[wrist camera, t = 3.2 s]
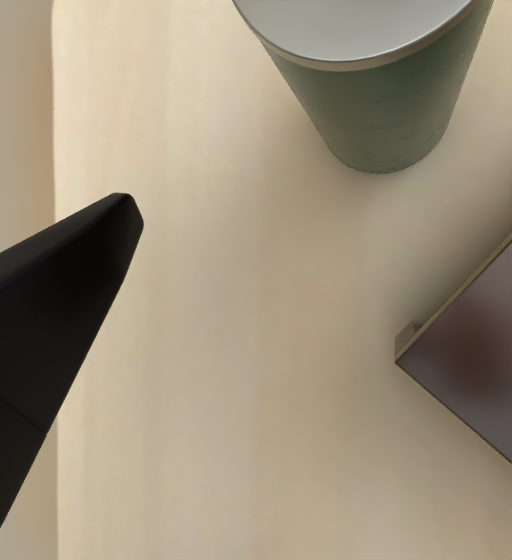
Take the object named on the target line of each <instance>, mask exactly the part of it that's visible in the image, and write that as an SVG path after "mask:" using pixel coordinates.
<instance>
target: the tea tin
mask: <svg viewBox="0 0 512 560" xmlns="http://www.w3.org/2000/svg"><path fill="white" fill-rule="evenodd" d="M232 1H233V3H234V5H235V7H236V8H237V10H238V12H239V13H240V15H241V16H242V18H243V20H244V21H245V23H246V24H247V26H248V27H249V29H250V30H251V31H252V32H253V33H254V34H255V35H256V37H257V38H258V39H259V40H260V41H261V43H262V45H263V46H264V48H265V49H266V51H267V52H268V54H269V55H270V57H271V59H272V60H273V62H274V63H275V65H276V66H277V68H278V69H279V71H280V72H281V74H282V76H283V77H284V79H285V80H286V82H287V83H288V85H289V86H290V88H291V90H292V91H293V93H294V94H295V96H296V97H297V99H298V100H299V102H300V103H301V105H302V107H303V108H304V110H305V111H306V113H307V114H308V116H309V117H310V119H311V121H312V122H313V124H314V125H315V127H316V128H317V130H318V131H319V133H320V134H321V136H322V138H323V139H324V141H325V142H326V144H327V145H328V147H329V148H330V150H331V151H332V153H333V154H334V155H335V156H336V157H337V158H338V159H339V160H340V161H341V162H343V163H344V164H346V165H347V166H349V167H351V168H353V169H355V170H358V171H362V172H366V173H374V174H382V173H390V172H395V171H399V170H401V169H404V168H407V167H409V166H411V165H413V164H415V163H416V162H418V161H419V160H421V159H422V158H423V157H424V156H426V155H427V154H428V153H429V152H430V151H431V150H432V149H433V148H434V147H435V146H436V144H437V143H438V142H439V140H440V139H441V137H442V135H443V134H444V132H445V130H446V127H447V125H448V123H449V120H450V117H451V115H452V112H453V109H454V106H455V104H456V101H457V98H458V96H459V93H460V90H461V88H462V85H463V82H464V79H465V77H466V74H467V71H468V69H469V66H470V63H471V61H472V58H473V55H474V52H475V50H476V47H477V44H478V42H479V39H480V36H481V34H482V31H483V28H484V25H485V23H486V20H487V17H488V15H489V12H490V9H491V7H492V4H493V1H494V0H232Z"/></svg>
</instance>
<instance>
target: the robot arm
mask: <svg viewBox="0 0 512 560" xmlns="http://www.w3.org/2000/svg"><path fill="white" fill-rule="evenodd" d="M143 226H144V222H143V218H142V216H141V214H140V211H139V209H138V207H137V205H136V202H135V200H134V198H133V197H132V196H131V195H130V194H127V193H112V194H110V195H108V196H107V197H105V198H103V199H101V200H99V201H97V202H95V203H93V204H91V205H90V206H88V207H86V208H84V209H82V210H80V211H78V212H76V213H74V214H73V215H71V216H69V217H67V218H65V219H63V220H61V221H59V222H57V223H56V224H54V225H52V226H50V227H48V228H46V229H44V230H42V231H40V232H39V233H37V234H35V235H33V236H31V237H29V238H27V239H25V240H23V241H22V242H20V243H18V244H16V245H14V246H12V247H10V248H8V249H7V250H5V251H3V252H1V253H0V527H1V526H2V524H3V522H4V520H5V518H6V516H7V514H8V512H9V510H10V508H11V506H12V504H13V502H14V500H15V498H16V496H17V494H18V492H19V490H20V488H21V486H22V484H23V482H24V480H25V478H26V476H27V474H28V472H29V470H30V468H31V465H32V464H33V462H34V460H35V458H36V456H37V454H38V452H39V450H40V448H41V446H42V444H43V442H44V440H45V438H46V436H47V433H48V432H49V430H50V427H51V425H52V423H53V422H54V420H55V418H56V416H57V414H58V412H59V410H60V408H61V406H62V404H63V402H64V400H65V398H66V396H67V394H68V392H69V390H70V388H71V386H72V384H73V382H74V380H75V378H76V376H77V374H78V372H79V370H80V368H81V366H82V364H83V362H84V360H85V358H86V356H87V353H88V351H89V349H90V347H91V345H92V343H93V341H94V339H95V337H96V335H97V333H98V331H99V329H100V327H101V325H102V323H103V321H104V319H105V317H106V315H107V313H108V311H109V309H110V307H111V305H112V303H113V301H114V299H115V297H116V295H117V293H118V291H119V289H120V287H121V285H122V283H123V281H124V279H125V276H126V274H127V271H128V269H129V266H130V263H131V260H132V258H133V255H134V252H135V250H136V247H137V244H138V242H139V239H140V236H141V234H142V231H143Z"/></svg>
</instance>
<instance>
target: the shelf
mask: <svg viewBox="0 0 512 560" xmlns="http://www.w3.org/2000/svg"><path fill="white" fill-rule="evenodd" d="M395 364H396V365H397V366H399V367H400V368H401V369H402V370H403V371H404V372H406V373H407V374H408V375H409V376H410V377H411V378H413V379H414V380H415V381H416V382H417V383H418V384H420V385H421V386H422V387H423V388H424V389H425V390H427V391H428V392H429V393H430V394H431V395H432V396H433V397H435V398H436V399H437V400H438V401H439V402H440V403H442V404H443V405H444V406H445V407H446V408H447V409H449V410H450V411H451V412H452V413H453V414H454V415H456V416H457V417H458V418H459V419H460V420H461V421H463V422H464V423H465V424H466V425H467V426H468V427H470V428H471V429H472V430H473V431H474V432H475V433H477V434H478V435H479V436H480V437H481V438H482V439H484V440H485V441H486V442H487V443H488V444H489V445H491V446H492V447H493V448H494V449H495V450H496V451H498V452H499V453H500V454H501V455H502V456H503V457H505V458H506V459H507V460H508V461H509V462H510V463H512V233H511V234H510V235H509V236H508V237H507V238H506V239H505V240H504V241H503V242H502V243H501V244H500V246H499V247H498V248H497V249H496V250H495V251H494V252H493V253H492V254H491V255H490V256H489V257H488V258H487V259H486V260H485V261H484V262H483V263H482V264H481V265H480V267H479V268H478V269H477V270H476V271H475V272H474V273H473V274H472V275H471V276H470V277H469V278H468V279H467V280H466V281H465V282H464V283H463V284H462V285H461V287H460V288H459V289H458V290H457V291H456V292H455V293H454V294H453V295H452V296H451V297H450V298H449V299H448V300H447V301H446V302H445V303H444V304H443V305H442V306H441V308H440V309H439V310H438V311H437V312H436V313H435V314H434V315H433V316H432V317H431V318H430V319H429V320H428V321H427V322H426V323H425V324H424V325H423V326H422V327H420V326H418V325H417V324H416V323H415V322H413V321H411V322H410V323H409V324H408V325H407V326H406V327H405V328H404V329H403V330H402V332H401V333H400V334H399V335H398V336H397V337H396V338H395Z"/></svg>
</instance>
